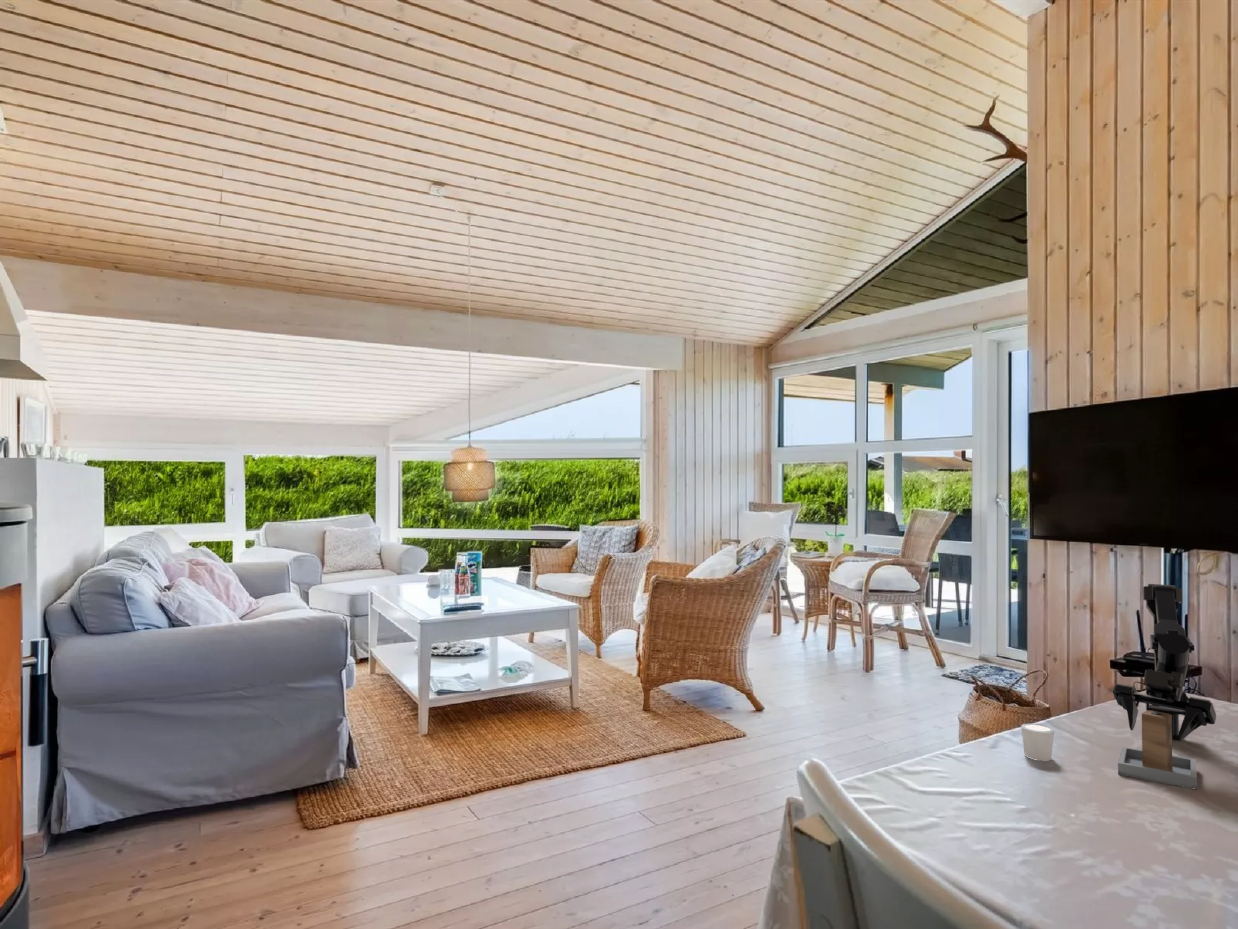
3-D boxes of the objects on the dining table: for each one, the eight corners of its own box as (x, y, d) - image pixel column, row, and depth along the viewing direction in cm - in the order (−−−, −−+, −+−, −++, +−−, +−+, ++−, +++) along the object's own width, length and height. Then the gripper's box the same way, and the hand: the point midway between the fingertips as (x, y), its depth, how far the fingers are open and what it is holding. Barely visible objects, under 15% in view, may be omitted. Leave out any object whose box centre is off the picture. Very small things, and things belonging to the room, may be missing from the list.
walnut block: (1148, 764, 172) (1148, 709, 172) (1172, 770, 168) (1171, 713, 169) (1142, 769, 169) (1141, 712, 169) (1166, 775, 165) (1165, 717, 166)
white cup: (1046, 752, 181) (1045, 723, 181) (1060, 763, 174) (1059, 732, 174) (1016, 751, 181) (1016, 722, 182) (1029, 761, 174) (1028, 731, 175)
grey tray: (1122, 756, 178) (1122, 746, 178) (1196, 770, 170) (1195, 759, 170) (1118, 774, 167) (1117, 762, 167) (1196, 789, 159) (1196, 777, 159)
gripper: (1114, 649, 179) (1098, 703, 172) (1211, 664, 165) (1198, 724, 157) (1126, 677, 184) (1111, 731, 176) (1221, 694, 169) (1209, 753, 162)
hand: (1154, 734), depth 168 cm, fingers open, 9 cm apart
